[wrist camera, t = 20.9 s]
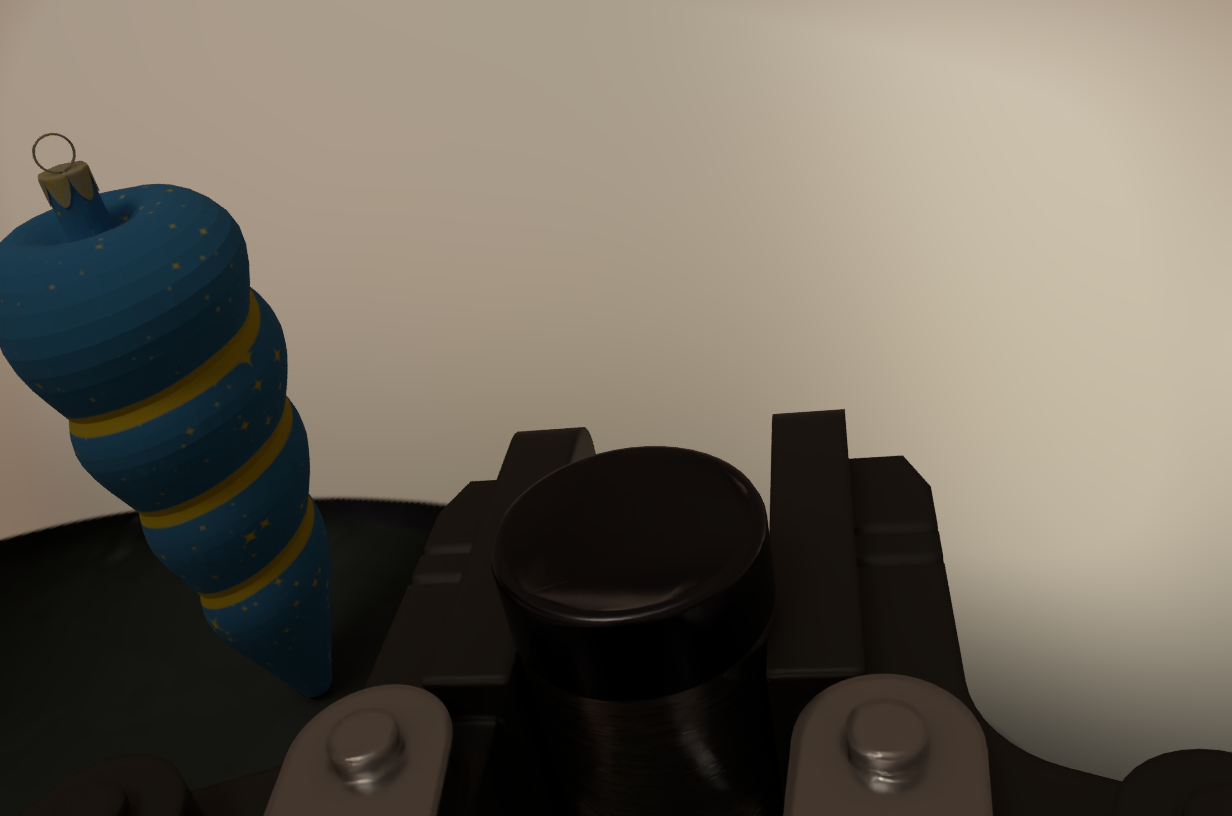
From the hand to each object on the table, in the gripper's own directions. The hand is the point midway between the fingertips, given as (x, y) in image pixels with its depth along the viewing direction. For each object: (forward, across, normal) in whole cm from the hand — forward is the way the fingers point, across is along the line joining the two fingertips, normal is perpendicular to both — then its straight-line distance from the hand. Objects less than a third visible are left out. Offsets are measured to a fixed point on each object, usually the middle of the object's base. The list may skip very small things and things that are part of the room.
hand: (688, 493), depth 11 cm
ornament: (+9, +12, +13) cm, 20 cm away
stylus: (-3, 0, +12) cm, 12 cm away
